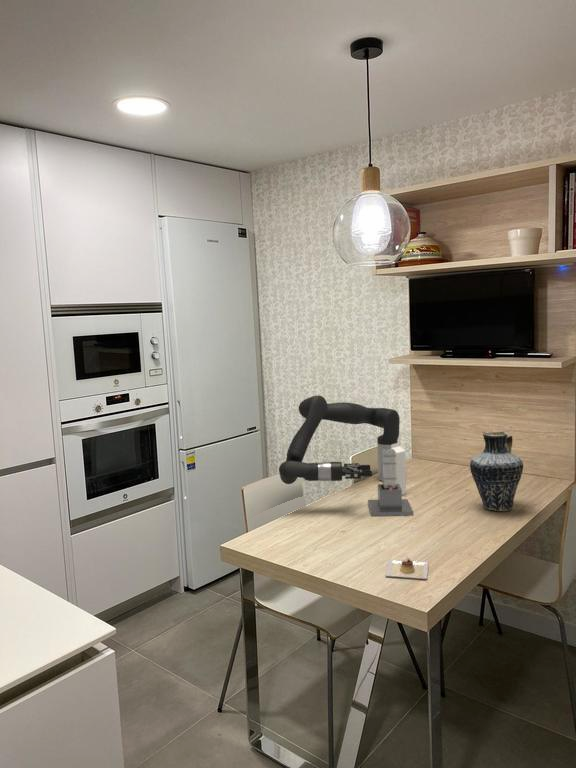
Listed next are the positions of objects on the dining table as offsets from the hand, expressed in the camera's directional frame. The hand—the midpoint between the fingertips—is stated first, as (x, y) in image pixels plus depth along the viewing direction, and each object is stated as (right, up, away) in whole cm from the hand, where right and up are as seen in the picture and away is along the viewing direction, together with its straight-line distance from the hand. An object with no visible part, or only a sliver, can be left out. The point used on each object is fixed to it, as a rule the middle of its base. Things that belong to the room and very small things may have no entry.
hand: (371, 470), depth 240 cm
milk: (+14, -13, +21) cm, 28 cm away
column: (+8, -14, +1) cm, 16 cm away
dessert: (+3, -23, -56) cm, 60 cm away
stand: (+8, -16, +1) cm, 17 cm away
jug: (+49, -15, -1) cm, 51 cm away
